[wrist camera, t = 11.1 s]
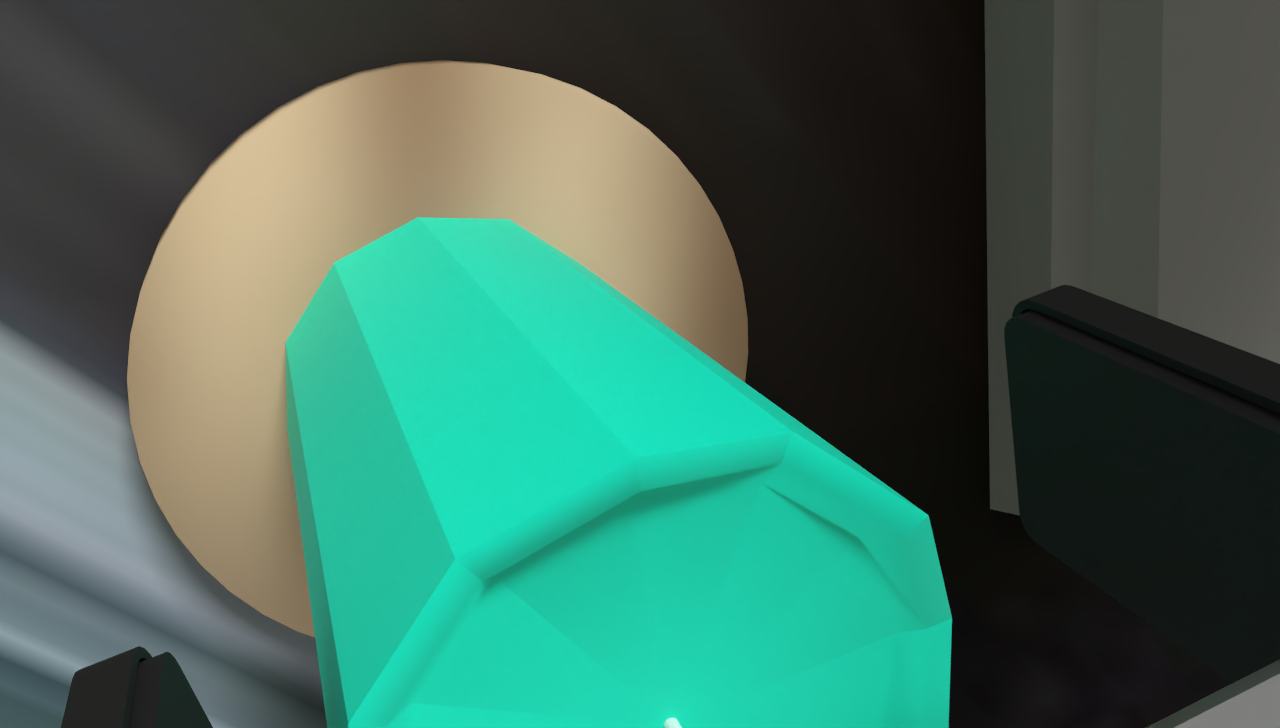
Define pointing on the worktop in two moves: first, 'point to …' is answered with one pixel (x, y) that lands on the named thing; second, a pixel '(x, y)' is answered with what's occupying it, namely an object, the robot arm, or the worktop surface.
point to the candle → (582, 513)
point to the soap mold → (1132, 171)
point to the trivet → (356, 216)
